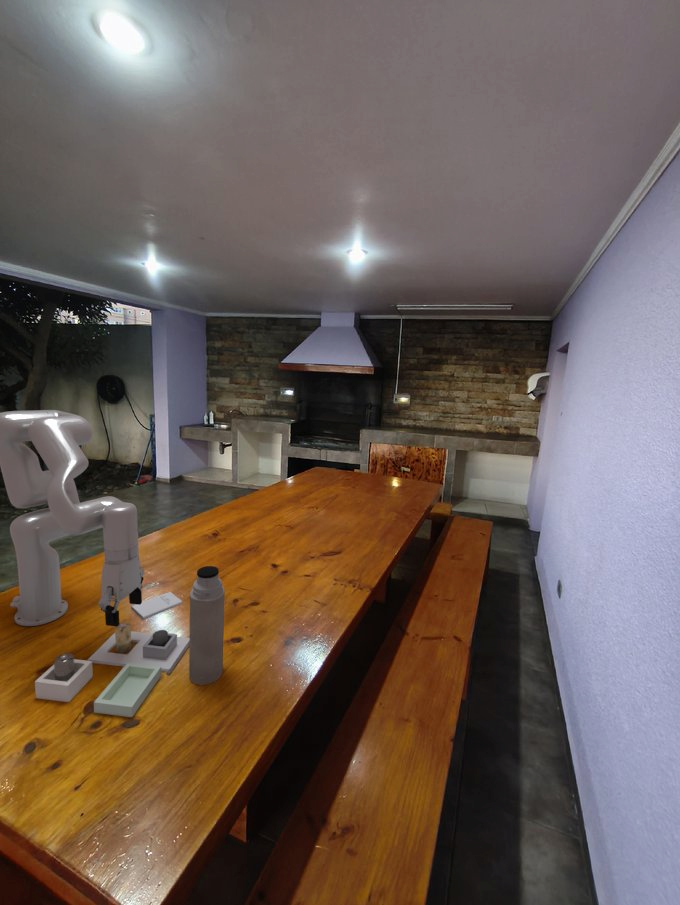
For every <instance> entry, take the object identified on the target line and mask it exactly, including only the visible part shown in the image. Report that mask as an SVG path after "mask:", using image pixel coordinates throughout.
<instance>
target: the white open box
mask: <svg viewBox="0 0 680 905" xmlns="http://www.w3.org/2000/svg"><path fill="white" fill-rule="evenodd" d="M93 675H94V674H93V663H92V661H88V660H84V659H77V658H74V675H73V676H72V677H71V678H70V679H69V680H68V681H67V682H65V681H57V680H55V669H54V664H53V665H51V666H50V667H49V668H48V669H47V670H46V671H45V672H44V673H42V674H41V676H39V677H38V678H37V679H36V680H35V681H34V690H35V699H42V700H49V701H55V702H56V701H57V702H63V703H70V701H71V700H73V698H74V697H75V696H76V695H77V694H78V693H79V692H80V691H81V690H83V689H84V688H83V687H85V686H86V684H88V683H89V681H90V680H92V678H93Z"/></svg>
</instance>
